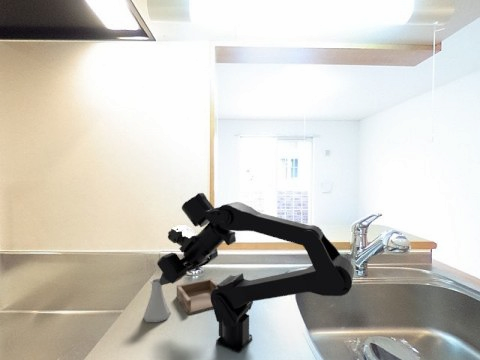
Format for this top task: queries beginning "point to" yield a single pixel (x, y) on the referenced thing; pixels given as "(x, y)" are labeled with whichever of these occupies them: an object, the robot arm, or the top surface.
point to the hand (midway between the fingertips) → (172, 276)
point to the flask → (156, 304)
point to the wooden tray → (196, 295)
